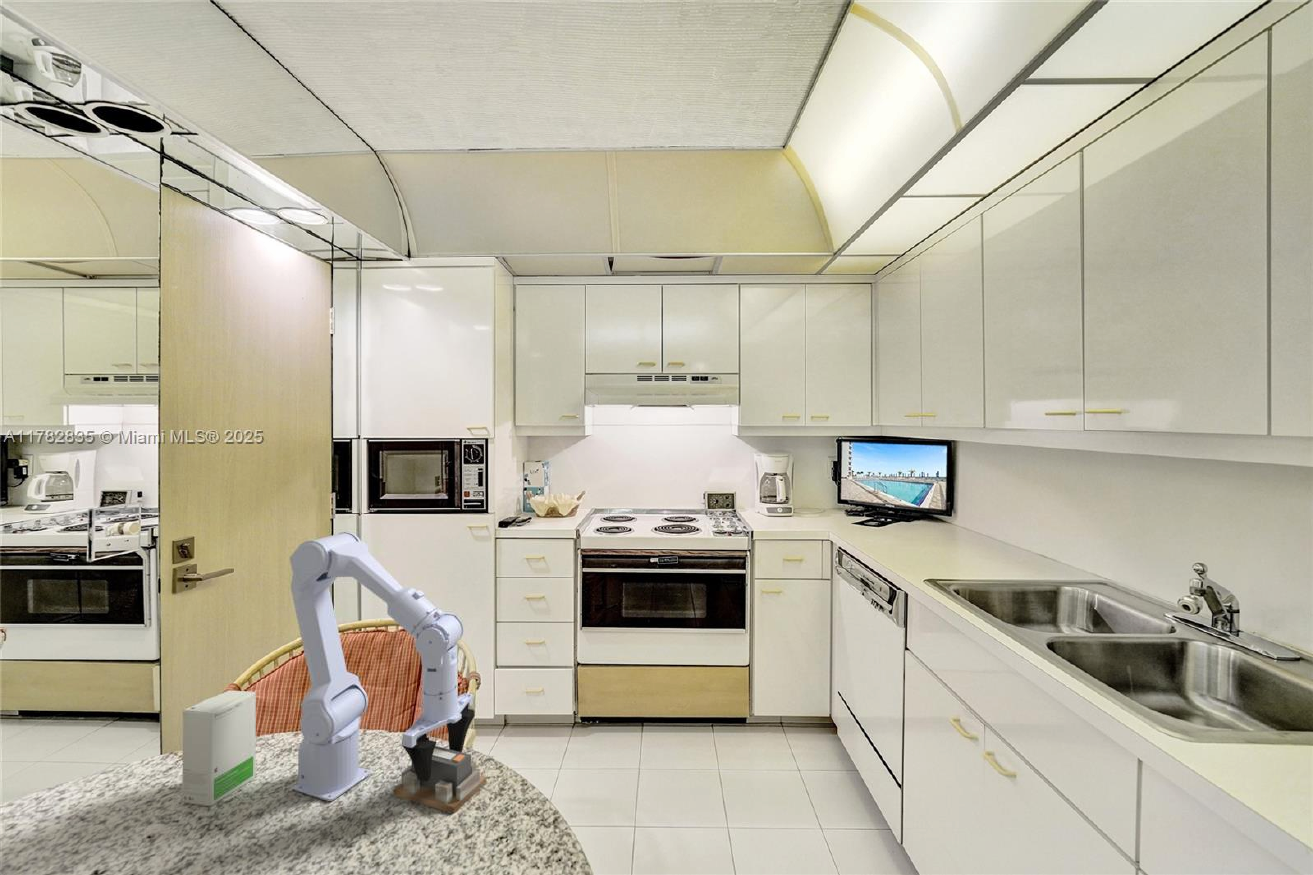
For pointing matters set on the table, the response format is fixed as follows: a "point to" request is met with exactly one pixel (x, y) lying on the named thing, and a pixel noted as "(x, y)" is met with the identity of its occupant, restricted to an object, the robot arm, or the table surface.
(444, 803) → the mounting board
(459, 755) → the grey rectangular block
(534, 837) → the table surface
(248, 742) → the skincare box
